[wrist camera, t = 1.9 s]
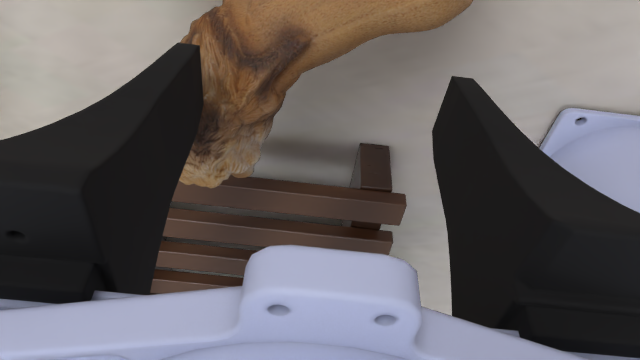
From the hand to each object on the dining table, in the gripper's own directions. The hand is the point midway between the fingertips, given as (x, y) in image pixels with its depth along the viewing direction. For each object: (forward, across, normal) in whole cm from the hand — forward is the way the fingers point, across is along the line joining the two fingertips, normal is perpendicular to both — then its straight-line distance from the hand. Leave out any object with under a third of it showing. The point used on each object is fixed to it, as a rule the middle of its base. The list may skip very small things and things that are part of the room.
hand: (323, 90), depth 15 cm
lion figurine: (+8, 0, 0) cm, 9 cm away
